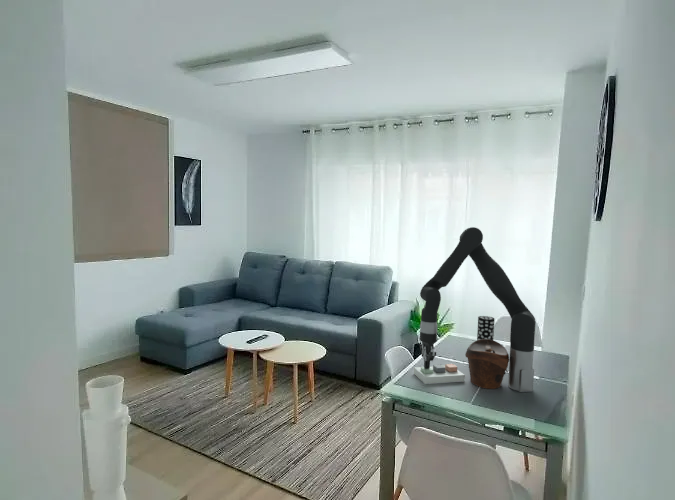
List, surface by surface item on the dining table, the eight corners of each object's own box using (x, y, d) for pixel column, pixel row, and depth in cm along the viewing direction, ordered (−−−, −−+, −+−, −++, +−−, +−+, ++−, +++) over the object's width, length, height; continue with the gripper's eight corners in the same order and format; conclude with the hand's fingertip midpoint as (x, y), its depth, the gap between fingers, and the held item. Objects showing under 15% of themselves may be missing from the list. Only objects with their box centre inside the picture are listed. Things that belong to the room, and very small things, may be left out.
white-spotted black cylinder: (476, 355, 211) (478, 318, 210) (475, 350, 219) (477, 315, 218) (493, 357, 209) (495, 320, 207) (491, 352, 217) (493, 316, 215)
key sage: (432, 374, 176) (433, 369, 176) (424, 374, 175) (424, 370, 175) (428, 370, 180) (429, 366, 179) (420, 371, 179) (420, 367, 179)
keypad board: (464, 381, 175) (464, 374, 175) (425, 384, 171) (425, 377, 171) (451, 371, 187) (451, 365, 186) (413, 373, 182) (414, 367, 182)
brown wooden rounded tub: (482, 394, 161) (485, 351, 160) (455, 376, 181) (457, 338, 180) (518, 391, 166) (521, 350, 165) (488, 374, 185) (491, 336, 184)
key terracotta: (457, 371, 178) (457, 367, 178) (449, 371, 177) (449, 367, 177) (452, 368, 182) (452, 363, 182) (444, 368, 181) (445, 364, 181)
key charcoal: (445, 372, 177) (445, 367, 177) (436, 372, 176) (437, 368, 176) (440, 368, 181) (441, 364, 181) (432, 369, 180) (433, 365, 180)
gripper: (443, 334, 170) (441, 373, 172) (429, 326, 183) (428, 362, 185) (427, 335, 169) (425, 374, 170) (414, 327, 182) (413, 363, 183)
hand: (426, 368), depth 177 cm, fingers closed
